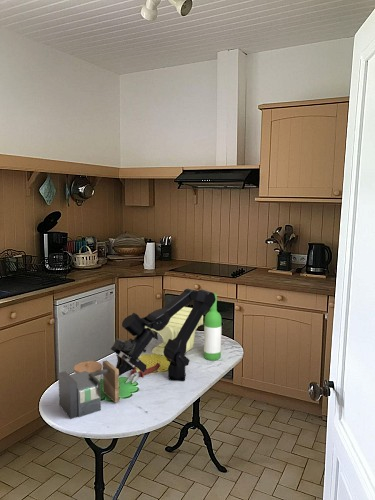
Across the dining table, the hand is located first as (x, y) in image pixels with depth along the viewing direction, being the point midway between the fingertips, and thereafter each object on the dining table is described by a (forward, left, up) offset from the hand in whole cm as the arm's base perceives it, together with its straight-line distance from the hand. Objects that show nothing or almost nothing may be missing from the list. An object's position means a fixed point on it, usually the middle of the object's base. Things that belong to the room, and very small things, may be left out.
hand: (113, 377), depth 154 cm
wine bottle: (-36, -40, -8) cm, 54 cm away
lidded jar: (+12, -8, -8) cm, 17 cm away
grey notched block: (+10, +9, -8) cm, 15 cm away
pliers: (-5, -22, -8) cm, 24 cm away
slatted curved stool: (-17, -46, -8) cm, 50 cm away
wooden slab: (+3, +4, -7) cm, 9 cm away
